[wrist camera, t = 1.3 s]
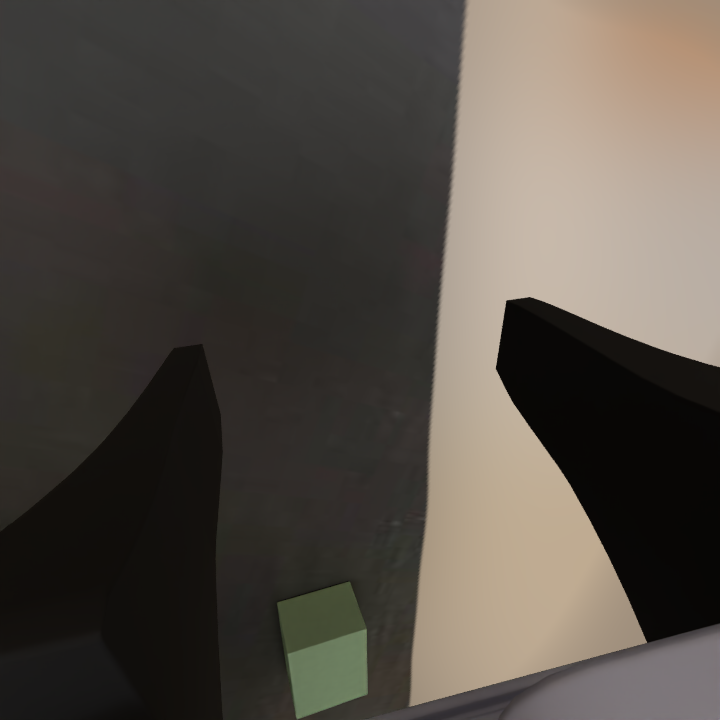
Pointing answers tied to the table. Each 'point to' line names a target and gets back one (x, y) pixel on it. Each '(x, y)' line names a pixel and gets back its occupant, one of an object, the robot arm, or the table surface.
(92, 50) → the table surface
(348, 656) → the foam pad
